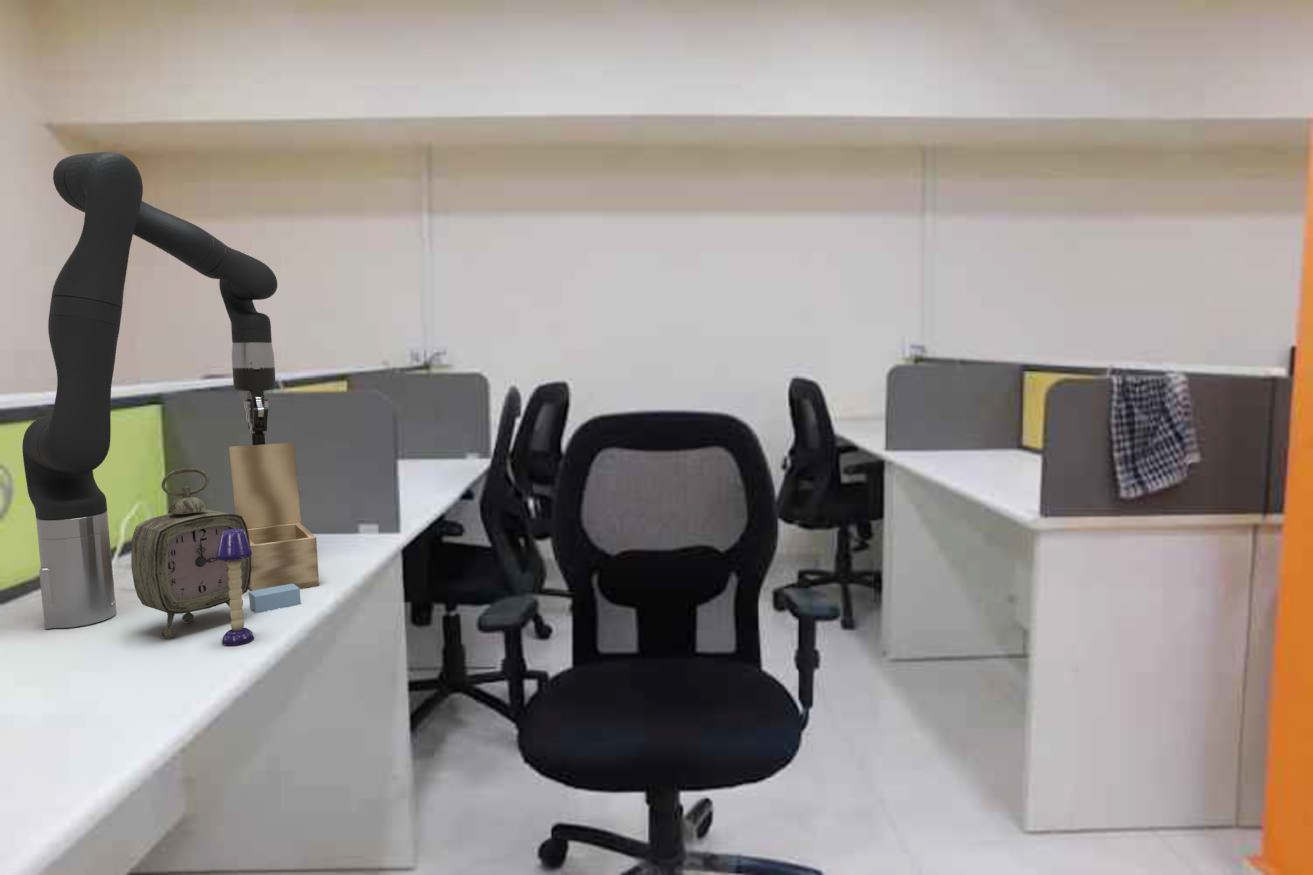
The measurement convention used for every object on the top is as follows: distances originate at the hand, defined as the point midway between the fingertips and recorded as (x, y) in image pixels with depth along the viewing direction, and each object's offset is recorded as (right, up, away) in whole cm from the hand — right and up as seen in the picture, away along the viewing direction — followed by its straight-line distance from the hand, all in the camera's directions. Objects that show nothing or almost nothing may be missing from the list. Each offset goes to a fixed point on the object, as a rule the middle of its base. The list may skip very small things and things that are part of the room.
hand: (259, 452), depth 159 cm
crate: (+9, -24, -10) cm, 27 cm away
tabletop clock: (+7, -27, -34) cm, 44 cm away
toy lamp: (+18, -27, -41) cm, 52 cm away
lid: (+3, -6, -4) cm, 8 cm away
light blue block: (+15, -26, -25) cm, 39 cm away
